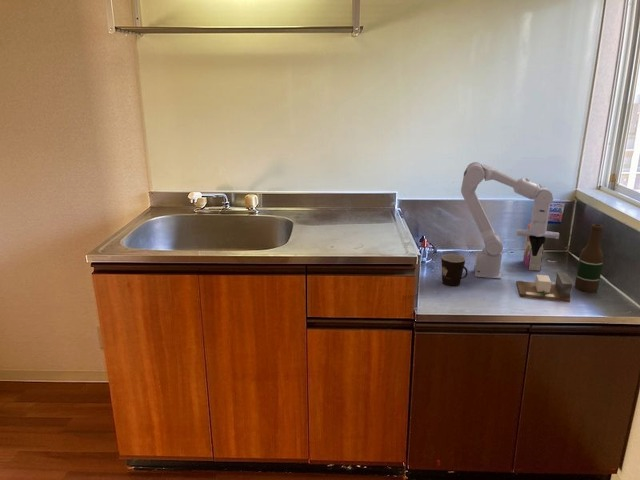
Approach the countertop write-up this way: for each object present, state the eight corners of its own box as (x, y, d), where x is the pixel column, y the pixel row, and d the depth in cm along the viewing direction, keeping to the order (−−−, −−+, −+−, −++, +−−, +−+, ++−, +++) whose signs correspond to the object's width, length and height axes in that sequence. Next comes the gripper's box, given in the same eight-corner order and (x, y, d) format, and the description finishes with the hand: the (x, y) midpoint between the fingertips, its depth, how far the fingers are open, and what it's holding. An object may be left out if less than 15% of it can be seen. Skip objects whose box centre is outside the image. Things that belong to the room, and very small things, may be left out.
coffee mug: (437, 278, 186) (439, 253, 183) (459, 278, 186) (462, 254, 183) (443, 291, 175) (445, 265, 172) (467, 291, 175) (470, 265, 172)
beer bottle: (578, 282, 183) (589, 220, 175) (601, 288, 177) (613, 225, 170) (570, 288, 177) (581, 225, 170) (593, 294, 172) (606, 229, 165)
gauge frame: (519, 297, 170) (522, 280, 168) (516, 283, 181) (518, 268, 179) (570, 302, 167) (572, 285, 165) (563, 288, 178) (565, 272, 176)
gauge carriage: (538, 294, 169) (540, 284, 167) (534, 284, 177) (536, 274, 176) (557, 296, 167) (559, 285, 166) (552, 286, 175) (554, 276, 174)
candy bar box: (522, 260, 204) (527, 223, 199) (534, 261, 203) (540, 223, 198) (527, 270, 194) (533, 231, 189) (540, 271, 193) (546, 231, 188)
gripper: (519, 221, 177) (514, 257, 182) (562, 224, 174) (557, 260, 178) (517, 216, 184) (512, 250, 188) (559, 219, 180) (553, 254, 184)
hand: (534, 255), depth 183 cm, fingers closed
